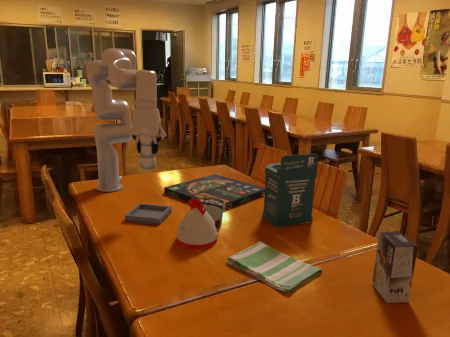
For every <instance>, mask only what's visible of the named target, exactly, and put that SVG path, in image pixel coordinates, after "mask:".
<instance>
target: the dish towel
mask: <svg viewBox="0 0 450 337" xmlns="http://www.w3.org/2000/svg"><path fill="white" fill-rule="evenodd" d="M226 260H227V261H226V264H229V265H231V266H232V267H234V268H236V269H238V270H240V271H242V272H244V273H246V274H248V275H249V276H251V277H253V278H255V279H256V280H259V281H261V282H263V283H265V284H266V285H268V286H270V287H271V288H273V289H276V290H278V291H281V292H284V293H285V294H290V293H291V292H294V290H296V289H298V288H299V287H301V286H302V285H304V284H305V283H306V282H308V281H309V280H310V279H311V280H313V279H314V278H316V277H317V276H319V275H320V274H322V273H323V269H322V268H319V267H318V266H314V265H312V264H309V263H306V262H304V261H302V260H300V259H299V260H298V259H297V258H294V257H292V256H290V255H288V254H285V253H283V252H282V251H280V250H278V249H276V248H273V247H271V246H269V245H268V244H266V243H264V242H263V241H259V242H258V243H256V244H254V245H251V246H249V247H247V248H245V249H243V250H241V251H238V252H236V253H235V254H232V255H231V256H228V257H227V258H226Z"/></svg>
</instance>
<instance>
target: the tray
mask: <svg viewBox="0 0 450 337" xmlns="http://www.w3.org/2000/svg"><path fill="white" fill-rule="evenodd" d="M172 207H173V206H172V205H162V204H151V203H142V202H141V203H140V202H139V203H138V204H137V205H135V206H134V207H133V208H132V209H130V210H129V211H128V212H126V214H124V221H125V222H128V223H137V224H138V223H139V224H148V225H154V226H155V225H156V226H157V225H158V226H160V225H161V224H162V223H163V222H165V220H166V219H167V217H168V216H169V215H171V213H172V212H173V211H172Z"/></svg>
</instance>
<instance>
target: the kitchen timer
mask: <svg viewBox="0 0 450 337" xmlns="http://www.w3.org/2000/svg"><path fill="white" fill-rule="evenodd" d="M188 203H189V204H188V205H189V208H190V210H188V211H187V212H186V213H185V215H184V216H183V217H182V219H181V221H180V223H179V224H178V227H177V228H178V229H177V234H176V235H177V236H176V242H177V244H178V245H179V246H181V247H182V248H186V249H189V250H203V249H209V248H211V247H213V246H214V245H216V244H217V242H218V233H217V229H216V227H215V220H213V219H212V217H211V216H210V215H209V214H208V212H207V211H206V209H203V205H204V204H202V205H201V201H200V200H198V199H195V201H194V198H192V199H191V200H189V202H188Z"/></svg>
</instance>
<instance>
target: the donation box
mask: <svg viewBox="0 0 450 337" xmlns="http://www.w3.org/2000/svg"><path fill="white" fill-rule="evenodd" d="M318 162H319V155H318V153H305V154H291V155H290V154H288V155H282V156H281V158H280V162H278V163H277V162H276V163H269V164H268V165H266V166H265V167H264V173H265V182H264V188H265V196H263V197H264V198H263V199H264V200H263V201H264V202H263V210H262V214H261V215H262V217H263V218H264V219H265V220H266V221H268V222H269V223H270V224H272V225H273V226H274V227H275V228H277V229H278V228H282V227H283V226H284V227H290V226H289V225H292V226H297V225H296V224H299V225H302V224H301V223H305V224H307V223H306V222H312V223H313V221H314V218H313V217H314V216H313V207H314V206H313V204H314V194H315V184H316V178H317V177H318Z"/></svg>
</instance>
